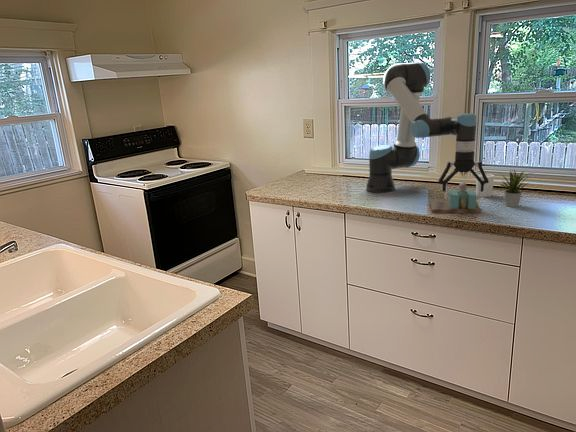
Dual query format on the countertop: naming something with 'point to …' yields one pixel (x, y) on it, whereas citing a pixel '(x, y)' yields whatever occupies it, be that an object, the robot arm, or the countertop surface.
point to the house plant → (513, 189)
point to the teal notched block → (456, 197)
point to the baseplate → (445, 208)
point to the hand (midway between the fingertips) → (462, 198)
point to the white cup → (486, 185)
